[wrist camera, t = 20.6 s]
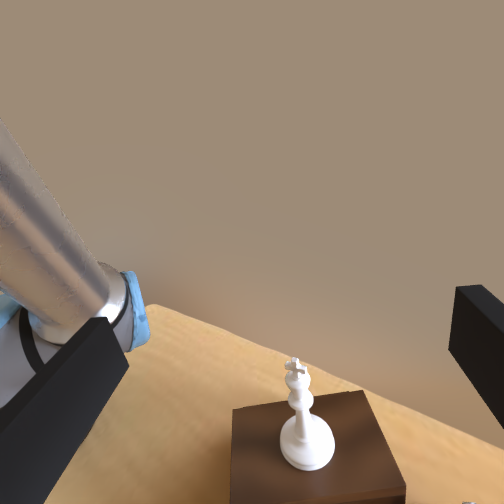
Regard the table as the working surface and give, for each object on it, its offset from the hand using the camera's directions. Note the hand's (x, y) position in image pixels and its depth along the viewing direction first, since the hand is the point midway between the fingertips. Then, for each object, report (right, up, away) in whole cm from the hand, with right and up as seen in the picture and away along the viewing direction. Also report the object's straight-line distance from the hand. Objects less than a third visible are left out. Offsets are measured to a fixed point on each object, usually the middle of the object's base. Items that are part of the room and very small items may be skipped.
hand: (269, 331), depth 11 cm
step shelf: (+6, -24, +23) cm, 34 cm away
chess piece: (+4, -15, +16) cm, 22 cm away
